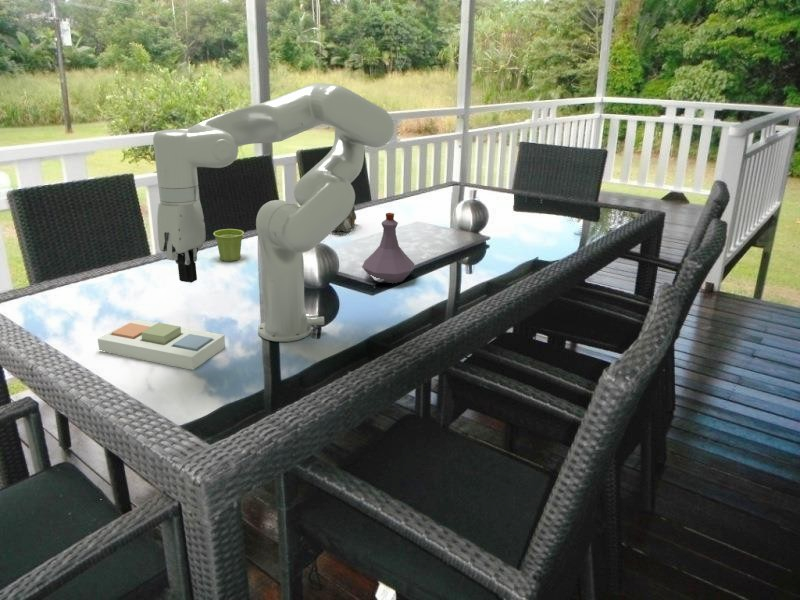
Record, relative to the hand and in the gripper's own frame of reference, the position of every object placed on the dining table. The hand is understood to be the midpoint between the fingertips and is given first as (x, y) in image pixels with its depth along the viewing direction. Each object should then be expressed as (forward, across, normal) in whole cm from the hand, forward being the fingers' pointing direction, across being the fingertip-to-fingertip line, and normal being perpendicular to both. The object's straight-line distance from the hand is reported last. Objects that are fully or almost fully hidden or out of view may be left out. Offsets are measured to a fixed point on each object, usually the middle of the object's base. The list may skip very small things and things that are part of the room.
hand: (188, 280), depth 132 cm
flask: (+18, -64, +23) cm, 71 cm away
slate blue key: (+16, +1, 0) cm, 16 cm away
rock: (+18, -112, -14) cm, 115 cm away
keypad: (+17, +1, -8) cm, 19 cm away
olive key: (+14, +1, -8) cm, 17 cm away
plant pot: (+18, -63, -30) cm, 72 cm away
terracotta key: (+16, 0, -16) cm, 23 cm away
